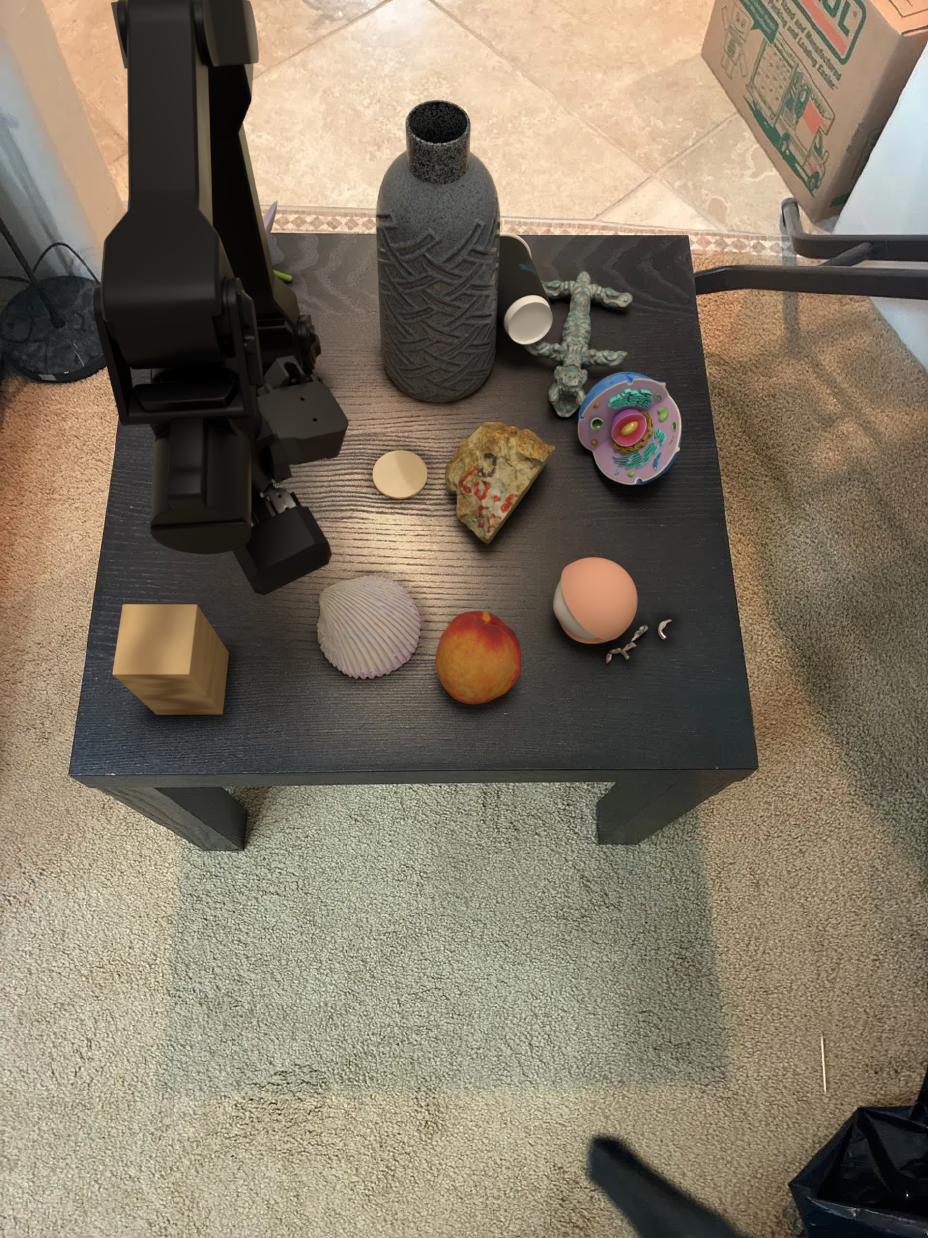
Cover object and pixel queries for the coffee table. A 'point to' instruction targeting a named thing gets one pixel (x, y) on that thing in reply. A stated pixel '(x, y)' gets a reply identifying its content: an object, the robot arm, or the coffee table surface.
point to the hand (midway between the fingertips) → (260, 526)
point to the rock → (494, 474)
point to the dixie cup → (520, 293)
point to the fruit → (478, 657)
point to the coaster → (399, 474)
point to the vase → (438, 259)
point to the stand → (171, 659)
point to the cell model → (630, 427)
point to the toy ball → (595, 600)
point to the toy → (636, 635)
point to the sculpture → (577, 340)
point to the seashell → (367, 626)
